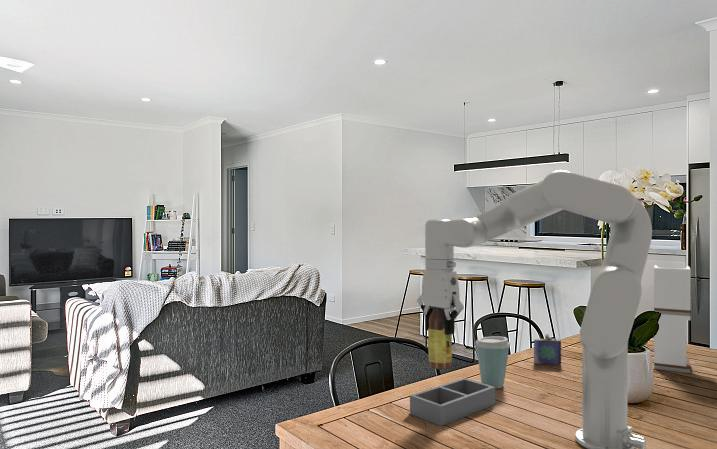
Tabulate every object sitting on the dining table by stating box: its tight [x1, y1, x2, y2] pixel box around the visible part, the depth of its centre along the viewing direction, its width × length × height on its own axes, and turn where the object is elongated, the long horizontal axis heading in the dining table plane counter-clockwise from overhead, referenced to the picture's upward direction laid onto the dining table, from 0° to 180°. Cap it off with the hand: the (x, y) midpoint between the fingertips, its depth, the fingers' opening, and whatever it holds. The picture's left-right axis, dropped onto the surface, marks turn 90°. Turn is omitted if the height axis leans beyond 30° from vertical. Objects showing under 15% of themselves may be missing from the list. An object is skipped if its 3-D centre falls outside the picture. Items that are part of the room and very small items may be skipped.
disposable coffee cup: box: [475, 335, 511, 389], centre depth 163 cm, size 11×11×15 cm
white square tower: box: [653, 264, 692, 374], centre depth 182 cm, size 11×11×35 cm
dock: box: [409, 377, 496, 427], centre depth 143 cm, size 11×23×5 cm, turn 130°
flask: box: [533, 333, 562, 367], centre depth 186 cm, size 9×3×11 cm, turn 76°
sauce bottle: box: [427, 307, 453, 371], centre depth 139 cm, size 6×6×20 cm
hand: (439, 331), depth 140 cm, fingers closed on sauce bottle, 6 cm apart
